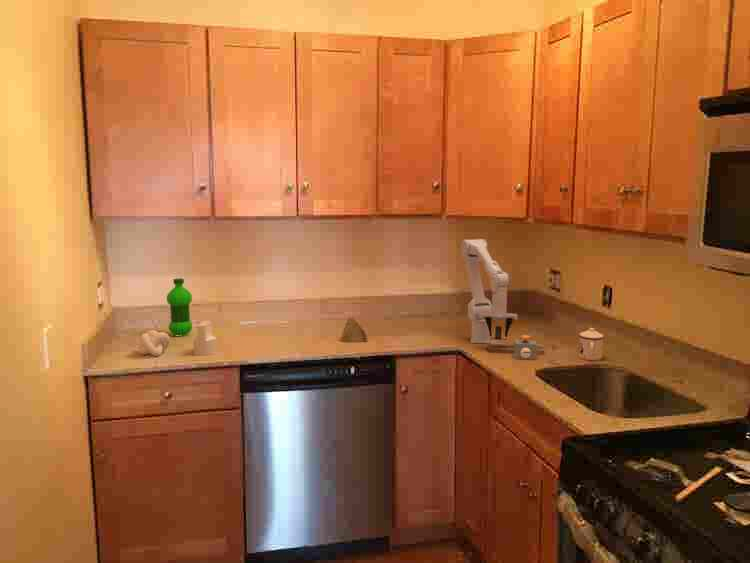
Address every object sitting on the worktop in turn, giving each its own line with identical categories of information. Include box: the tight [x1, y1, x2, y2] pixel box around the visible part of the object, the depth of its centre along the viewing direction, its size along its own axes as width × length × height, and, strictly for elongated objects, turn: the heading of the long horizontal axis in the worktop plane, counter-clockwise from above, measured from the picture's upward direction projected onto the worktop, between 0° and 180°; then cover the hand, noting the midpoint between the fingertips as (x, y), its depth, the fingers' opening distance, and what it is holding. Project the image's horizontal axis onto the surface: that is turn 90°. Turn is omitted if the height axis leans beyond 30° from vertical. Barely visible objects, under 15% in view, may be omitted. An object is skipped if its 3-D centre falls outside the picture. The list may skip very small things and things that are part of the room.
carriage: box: [489, 325, 507, 347], centre depth 254 cm, size 6×6×8 cm
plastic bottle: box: [166, 278, 193, 337], centre depth 276 cm, size 10×10×25 cm
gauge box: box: [513, 339, 537, 360], centre depth 244 cm, size 7×8×6 cm
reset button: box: [520, 334, 531, 343], centre depth 243 cm, size 4×4×2 cm
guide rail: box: [489, 342, 543, 348], centre depth 254 cm, size 2×21×1 cm, turn 81°
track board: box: [487, 343, 546, 355], centre depth 254 cm, size 9×22×2 cm, turn 81°
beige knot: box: [138, 329, 171, 357], centre depth 247 cm, size 11×12×9 cm
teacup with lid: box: [578, 327, 605, 361], centre depth 242 cm, size 12×9×12 cm
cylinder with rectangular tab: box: [192, 320, 218, 357], centre depth 248 cm, size 9×9×12 cm
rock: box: [340, 317, 368, 343], centre depth 267 cm, size 11×9×10 cm
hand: (498, 336), depth 254 cm, fingers open, 5 cm apart
